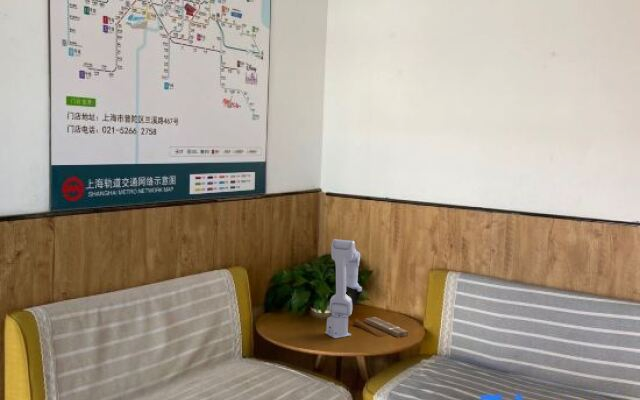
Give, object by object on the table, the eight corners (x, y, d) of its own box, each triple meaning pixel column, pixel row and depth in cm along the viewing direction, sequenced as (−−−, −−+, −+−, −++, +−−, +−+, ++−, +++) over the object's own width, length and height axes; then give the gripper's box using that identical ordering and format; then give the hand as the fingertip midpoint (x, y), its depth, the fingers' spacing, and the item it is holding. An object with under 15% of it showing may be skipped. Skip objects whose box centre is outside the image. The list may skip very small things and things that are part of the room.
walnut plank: (397, 337, 263) (398, 332, 263) (365, 322, 283) (365, 318, 283) (407, 335, 267) (407, 331, 266) (374, 320, 286) (375, 316, 286)
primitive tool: (387, 336, 266) (387, 328, 265) (379, 338, 262) (379, 330, 262) (357, 325, 280) (358, 317, 279) (349, 327, 276) (350, 319, 276)
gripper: (367, 277, 278) (365, 305, 279) (349, 271, 290) (348, 297, 291) (355, 279, 274) (354, 306, 275) (338, 272, 286) (336, 299, 287)
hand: (350, 302), depth 283 cm, fingers open, 6 cm apart
